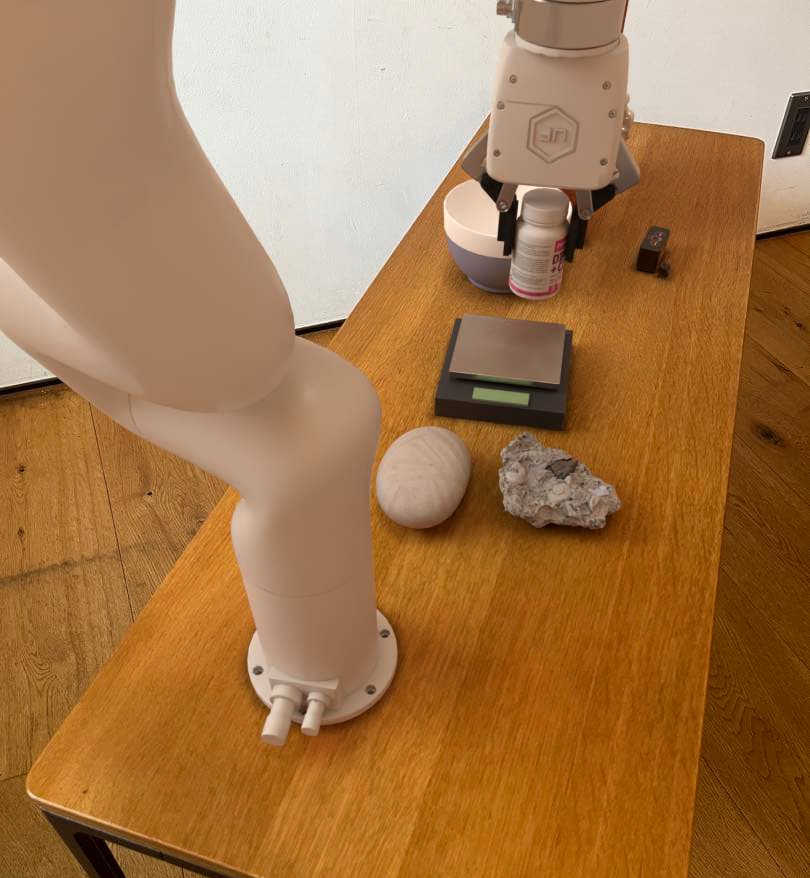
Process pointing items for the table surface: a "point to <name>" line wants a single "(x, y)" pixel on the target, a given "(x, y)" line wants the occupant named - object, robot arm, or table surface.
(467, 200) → the bowl
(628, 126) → the figurine
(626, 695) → the table surface
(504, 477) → the mineral specimen
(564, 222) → the pill bottle
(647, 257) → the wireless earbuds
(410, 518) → the decorative stone
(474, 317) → the scale pan
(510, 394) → the scale
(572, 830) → the table surface
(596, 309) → the table surface
